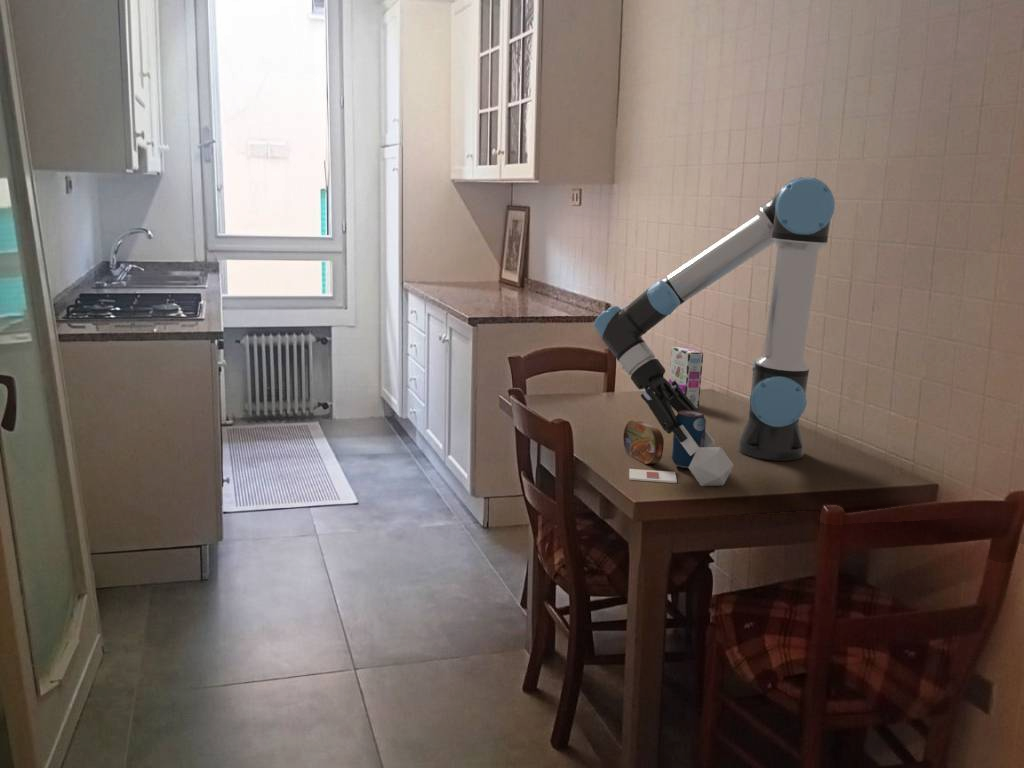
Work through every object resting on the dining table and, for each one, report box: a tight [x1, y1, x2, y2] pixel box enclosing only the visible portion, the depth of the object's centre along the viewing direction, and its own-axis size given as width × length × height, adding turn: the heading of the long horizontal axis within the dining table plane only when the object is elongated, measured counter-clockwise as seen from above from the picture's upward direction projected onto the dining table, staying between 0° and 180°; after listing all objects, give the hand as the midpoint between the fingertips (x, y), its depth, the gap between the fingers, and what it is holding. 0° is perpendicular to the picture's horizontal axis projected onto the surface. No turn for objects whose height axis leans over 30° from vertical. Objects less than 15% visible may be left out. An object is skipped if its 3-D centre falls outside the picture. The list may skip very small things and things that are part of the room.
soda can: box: [671, 410, 707, 469], centre depth 215 cm, size 7×7×12 cm
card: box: [628, 468, 678, 484], centre depth 208 cm, size 10×7×1 cm
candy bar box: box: [668, 346, 704, 409], centre depth 278 cm, size 11×5×16 cm, turn 17°
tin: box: [622, 420, 665, 465], centre depth 221 cm, size 15×3×8 cm, turn 21°
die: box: [687, 446, 734, 487], centre depth 204 cm, size 8×9×10 cm
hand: (702, 448), depth 213 cm, fingers closed on soda can, 7 cm apart
